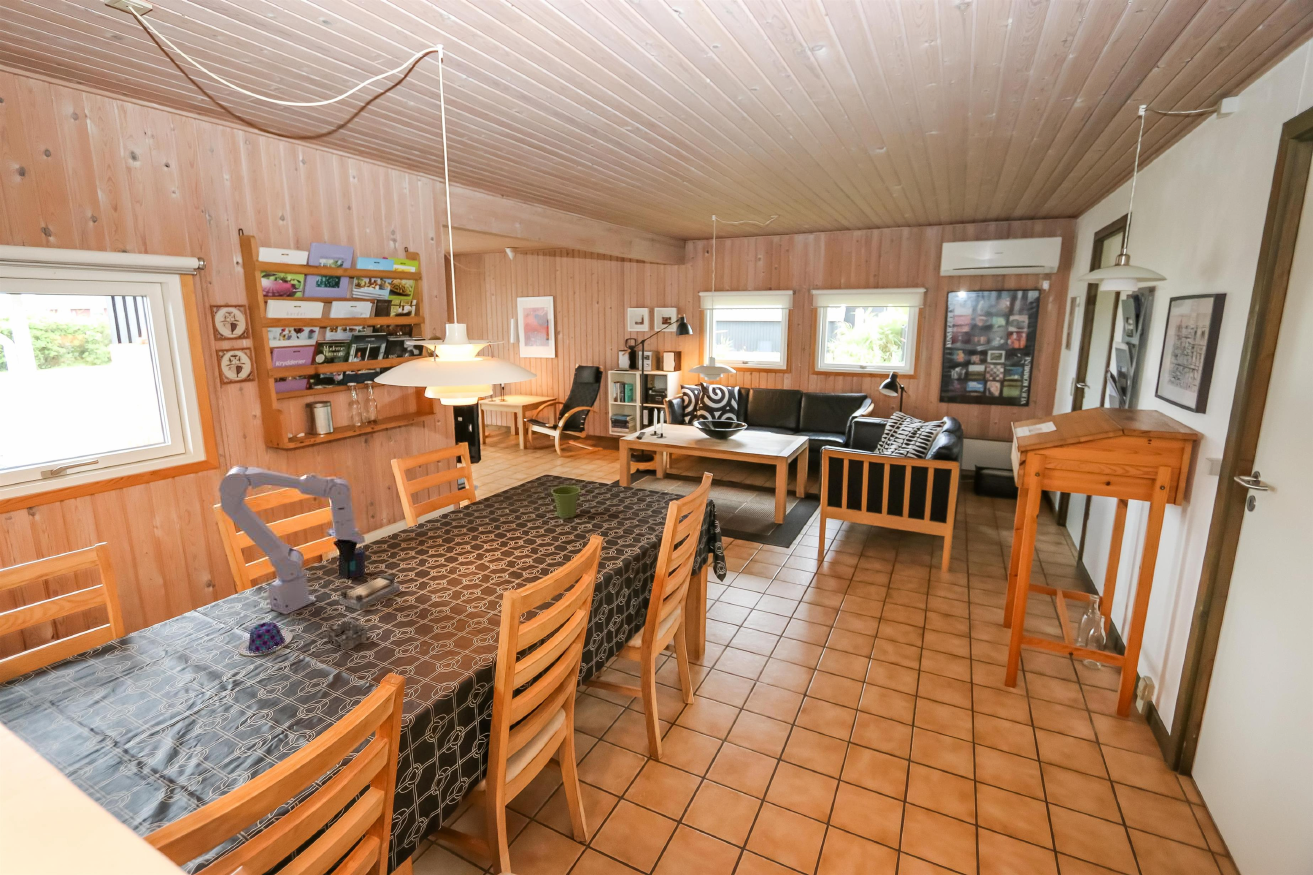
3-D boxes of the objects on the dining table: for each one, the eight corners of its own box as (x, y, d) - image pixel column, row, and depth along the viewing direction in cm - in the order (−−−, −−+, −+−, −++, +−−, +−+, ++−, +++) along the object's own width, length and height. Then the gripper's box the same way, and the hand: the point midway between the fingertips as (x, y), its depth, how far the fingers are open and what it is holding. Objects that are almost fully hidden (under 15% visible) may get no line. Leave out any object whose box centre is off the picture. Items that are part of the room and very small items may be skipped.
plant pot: (553, 511, 257) (552, 486, 255) (581, 510, 258) (580, 485, 256) (551, 521, 246) (550, 495, 243) (580, 520, 247) (580, 494, 244)
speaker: (340, 581, 193) (340, 549, 192) (338, 575, 198) (338, 544, 196) (366, 577, 197) (366, 546, 196) (363, 571, 202) (363, 541, 201)
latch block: (360, 610, 176) (358, 597, 175) (339, 603, 180) (338, 591, 179) (399, 590, 188) (398, 578, 187) (379, 584, 192) (378, 572, 191)
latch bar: (357, 600, 177) (357, 598, 177) (346, 596, 179) (346, 594, 179) (390, 583, 187) (390, 581, 186) (379, 580, 189) (379, 577, 189)
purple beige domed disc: (251, 635, 163) (248, 617, 162) (299, 630, 165) (297, 613, 164) (230, 660, 152) (226, 641, 151) (282, 655, 154) (279, 636, 153)
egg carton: (323, 639, 161) (321, 625, 160) (351, 627, 167) (349, 614, 166) (343, 652, 155) (341, 638, 154) (371, 639, 161) (370, 625, 160)
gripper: (371, 518, 181) (376, 560, 184) (339, 511, 187) (345, 552, 190) (350, 526, 175) (356, 570, 178) (318, 518, 181) (324, 560, 184)
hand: (349, 561), depth 184 cm, fingers closed
